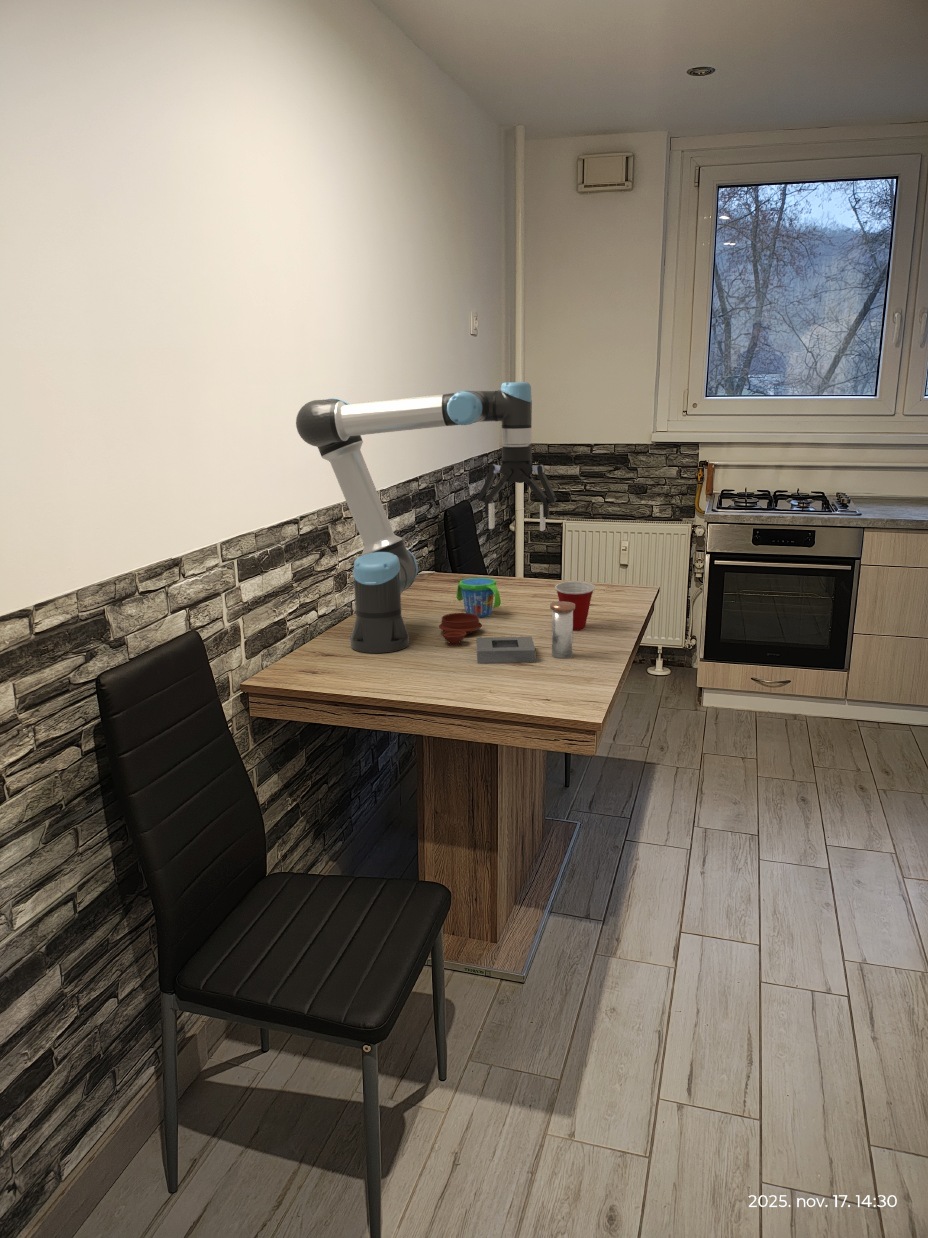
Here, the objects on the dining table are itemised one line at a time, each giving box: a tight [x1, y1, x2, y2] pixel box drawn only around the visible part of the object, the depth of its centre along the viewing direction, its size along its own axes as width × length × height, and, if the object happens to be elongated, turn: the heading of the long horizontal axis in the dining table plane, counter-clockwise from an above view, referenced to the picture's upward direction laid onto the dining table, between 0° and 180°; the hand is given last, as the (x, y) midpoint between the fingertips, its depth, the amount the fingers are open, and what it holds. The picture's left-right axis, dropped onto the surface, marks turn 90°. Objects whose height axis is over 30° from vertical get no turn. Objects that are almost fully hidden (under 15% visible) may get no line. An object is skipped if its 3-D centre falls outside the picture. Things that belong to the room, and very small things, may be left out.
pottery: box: [438, 612, 483, 646], centre depth 237 cm, size 12×20×4 cm, turn 171°
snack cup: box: [456, 577, 502, 618], centre depth 258 cm, size 16×10×10 cm
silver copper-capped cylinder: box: [549, 600, 575, 659], centre depth 218 cm, size 6×6×13 cm
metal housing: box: [475, 636, 536, 664], centre depth 220 cm, size 14×12×3 cm
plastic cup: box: [554, 580, 596, 631], centre depth 242 cm, size 11×11×12 cm
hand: (516, 529), depth 229 cm, fingers open, 13 cm apart
